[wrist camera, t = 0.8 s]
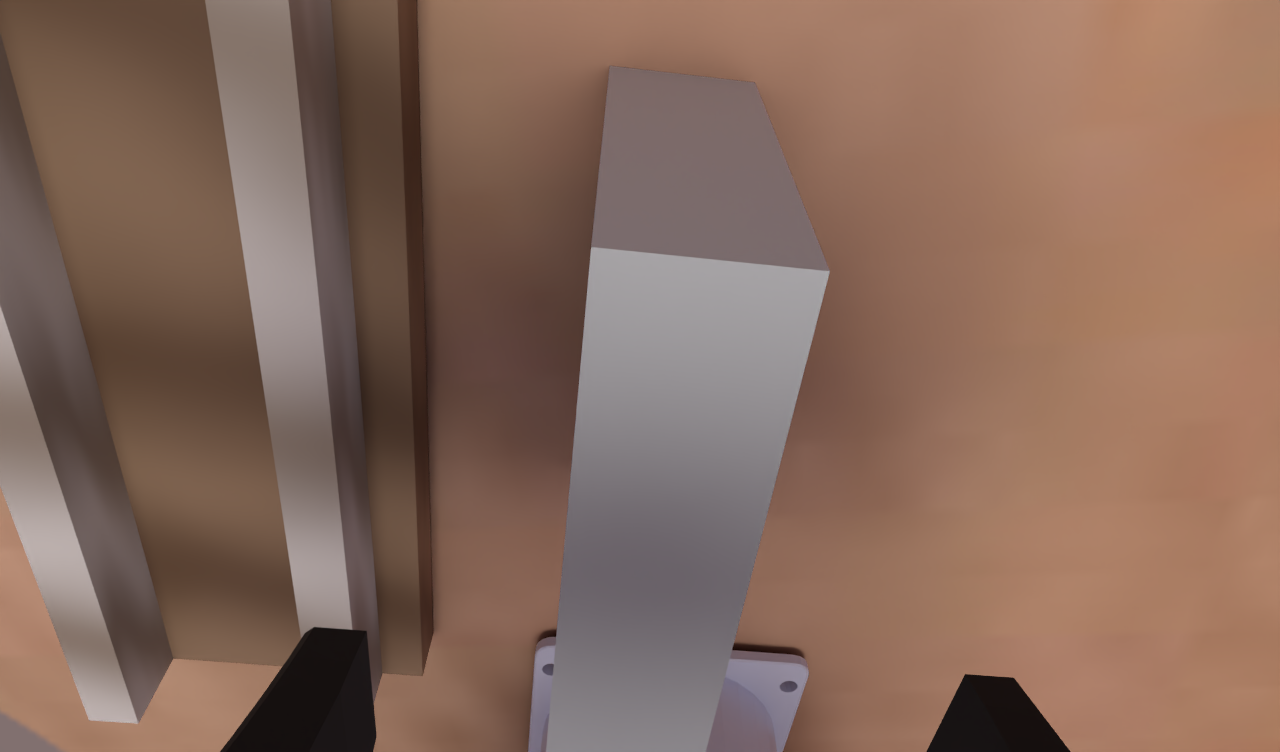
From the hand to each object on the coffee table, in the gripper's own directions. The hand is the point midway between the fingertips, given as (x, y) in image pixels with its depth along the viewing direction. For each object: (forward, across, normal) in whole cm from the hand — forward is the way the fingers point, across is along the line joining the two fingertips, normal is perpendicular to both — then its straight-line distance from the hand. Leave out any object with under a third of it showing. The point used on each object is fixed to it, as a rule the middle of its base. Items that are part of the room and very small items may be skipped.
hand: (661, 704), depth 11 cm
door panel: (+10, 0, 0) cm, 11 cm away
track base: (+10, +10, +3) cm, 14 cm away
